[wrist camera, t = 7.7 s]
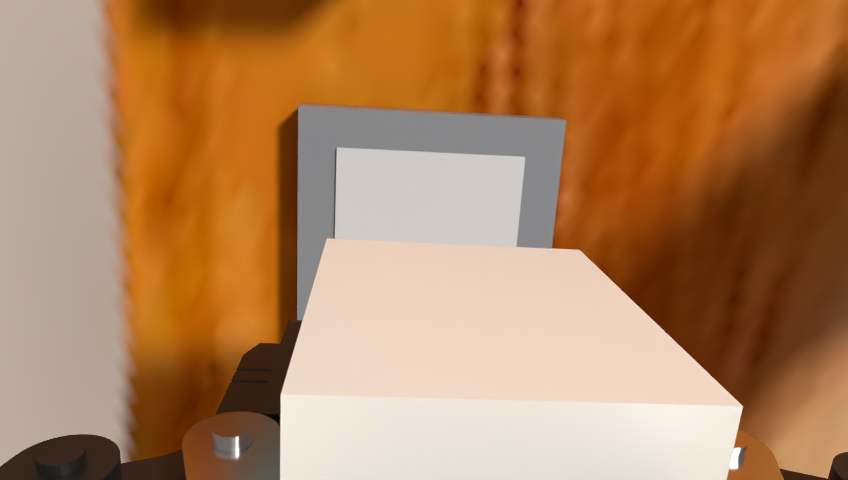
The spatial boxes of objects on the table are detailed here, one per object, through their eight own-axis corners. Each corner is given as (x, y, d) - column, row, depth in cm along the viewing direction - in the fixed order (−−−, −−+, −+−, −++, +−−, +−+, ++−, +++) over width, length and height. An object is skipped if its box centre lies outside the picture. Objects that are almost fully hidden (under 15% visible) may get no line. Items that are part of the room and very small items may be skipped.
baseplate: (557, 117, 23) (567, 120, 22) (531, 348, 25) (539, 363, 24) (302, 103, 22) (298, 106, 21) (301, 341, 25) (296, 356, 23)
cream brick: (579, 250, 13) (743, 406, 7) (550, 466, 14) (667, 748, 8) (326, 237, 12) (280, 394, 7) (321, 462, 14) (278, 755, 8)
